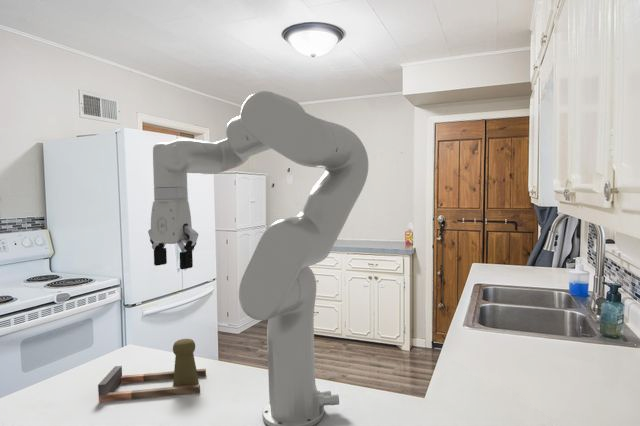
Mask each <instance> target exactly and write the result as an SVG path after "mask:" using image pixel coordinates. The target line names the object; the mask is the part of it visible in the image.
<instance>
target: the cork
mask: <svg viewBox="0 0 640 426" xmlns="http://www.w3.org/2000/svg"><path fill="white" fill-rule="evenodd" d="M172 351H173V354H174V355H175V357H174V358H175V359H174V379H172V381H173V383H172V387H178V386H189V385H200V382H199V381H200V380H199V377H198V376H197V370H196V369H197V365H196V361H195V356H194V355H195V354H194V352H195V351H196V343H195V341H194V340H193V339H192V338H182V339H178V340H176V341H175V342H174V343H173V346H172Z"/></svg>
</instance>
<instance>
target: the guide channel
mask: <svg viewBox="0 0 640 426" xmlns="http://www.w3.org/2000/svg"><path fill="white" fill-rule="evenodd" d="M122 368H123V367H122V365H115V366H114V367H113V368H112V369H111V370H110V371H109V372H108V373H107V375H106V376H104V378H103V379H102V380H101V381H100V382H99V383H98V384H97V391H98V403H107V402H108V403H109V402H115V401H116V402H117V401H118V402H119V401H130V400H139V399H141V400H142V399H149V398H161V397H172V396H183V395H194V394H200V392H201V385H200V384H198V385H189V386H178V387H173V386H169V387H158V388H156V387H155V388H149V389H147V388H146V389H144V388H143V389H136V390H135V389H133V390H124V391H116V390H117V389H118V388H119V386H120V385H124V384H134V383H143V382H154V381H155V382H156V381H165V380H167V381H168V380H169V381H170V380H174V371H161V372H153V373H151V372H150V373H149V372H148V373H140V374H128V375H127V374H126V375H123V369H122ZM196 370H197V376H198V378H201V377H206V375H207V369H206V368H198V369H197V368H196Z"/></svg>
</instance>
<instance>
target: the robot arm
mask: <svg viewBox="0 0 640 426" xmlns="http://www.w3.org/2000/svg"><path fill="white" fill-rule="evenodd" d="M225 135H226V138H224V139H222V140H219V141H215V142H211V141H205V140H204V141H203V140H195V139H191V138H190V139H188V138H181V139H180V138H179V139H175V140H173V141H171V142H158V143H155V145H154V146H153V147H152V167H153V169H152V171H153V197H154V200H153V202H152V204H151V205H152V207H151V213H150V216H151V217H150V229H149V230H148V231H147V232H148V236H149V242H150V243H151V248H152V250H153V265H154V266H163V265H164V266H165V265H166V264H168V263H167V262H168V260H167V258H168V257H167V247H165V246H166V244H167V245H168V244H169V245H176V244H177V246H178V248H179V249H180V250H181V251H179V269H180V270H188V269H191V268H193V267H194V266H193V265H194V264H193V263H194V262H193V260H194V259H193V252H194V251H195V246H196V245H197V241H198V237H199V233H198V232H197V231H196V230H195V229H193V228H192V217H191V210H190V209H191V208H190V204H189V199H188V198H189V197H188V194H189V193H188V174H204V175H205V174H206V175H208V174H209V175H215V174H216V175H217V174H221V173H225V172H226V171H229V170H233V169H236V168H239V167H240V166H242V165H244V164H245V163H246V162H247V161H248V160H249V159H250V157H252V156H255V155H258V154H260V153H263V152H265V151H268V150H274V151H275V152H277V153H278V154H280V155H282V156H283V157H285V159H288V160H290V161H292V162H293V163H296V164H298V165H300V166H303V167H308V168H318V169H324V173H323V175H322V176H321V177H320V179H319V180H318V181H317V182H316V183H315V185H314V186H313V187H312V188H311V191H310V192H309V194H308V196H307V199H306V201H305V203H304V205H303V207H302V209H301V210H300V211H299V213H298V214H297V215H295V216H291V217H285V218H282V219H278V220H276V221H275V222H273V223H271V225H269V226H268V227H267V228H266V230H265V231H264V233H263V234H262V235H261V237H260V239H259V241H258V243H257V245H256V247H255V250H254V252H253V254H252V256H251V258H250V260H249V263H248V265H247V266H246V269H245V271H244V274H243V275H242V277H241V280H240V284H239V289H238V299H239V301H238V302H239V304H240V307H241V309H242V312H244V313H245V315H247V316H248V317H249V318H251V319H253V320H257V321H267V326H266V339H267V340H266V343H267V344H266V345H267V347H266V348H267V349H266V350H267V371H268V373H267V374H268V395H269V401H268V403H267V404H266V405H265V406H264V407H263V409H262V413H261V414H262V416H261V417H262V421H263V422H264V423H265V425H267V426H315V425H316V424H318V423H319V422H320V421H321V420H322V419H323V418H324V415H325V406H338V405H340V397H339V394H338V393H337V394H332V391H331V390H326V391H320V390H318V389H317V388H318V387H317V385H316V365H315V363H316V362H315V361H316V360H315V331H314V330H315V328H314V327H315V325H314V320H315V317H314V316H315V305H316V304H315V303H316V298H317V280H316V276H315V274H314V272H313V270H312V268H311V267H310V266H314V265H316V264H319V263H321V262H323V261H324V260H325V259H326V258H327V257H329V255H330V253H331V251H332V249H333V248H334V246H335V244H336V241H337V239H338V238H339V235H341V232H342V230H343V228H344V226H345V224H346V222H347V220H348V218H349V216H350V213H351V212H352V210H353V207H354V206H355V204H356V203H357V201H358V198H359V197H360V195H361V193H362V191H363V189H364V186H365V184H366V181H367V178H368V174H369V157H368V153H367V150H366V148H365V145H364V143H363V142H362V140H361V139H360V138H359V136H358V135H356V133H355V132H353V131H352V130H351V129H349V128H347V127H346V126H343V125H340V124H338V123H335V122H330V121H328V120H326V119H321V118H318V117H316V116H314V115H312V114H309V113H308V112H306V110H305V109H304V108H303V106H302V105H301V104H300V103H299V102H297V101H295V100H294V99H291V98H289V97H287V96H283V95H281V94H278V93H276V92H272V91H269V90H268V91H267V90H261V91H257V92H254V93H253V94H251V95H249V96H248V97H247V98H246V99H245V101H244V102H243V104H242V106H241V108H240V115H239V116H236V117H234V118H231V120H229V122H228V123H227V125H226V129H225Z"/></svg>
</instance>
